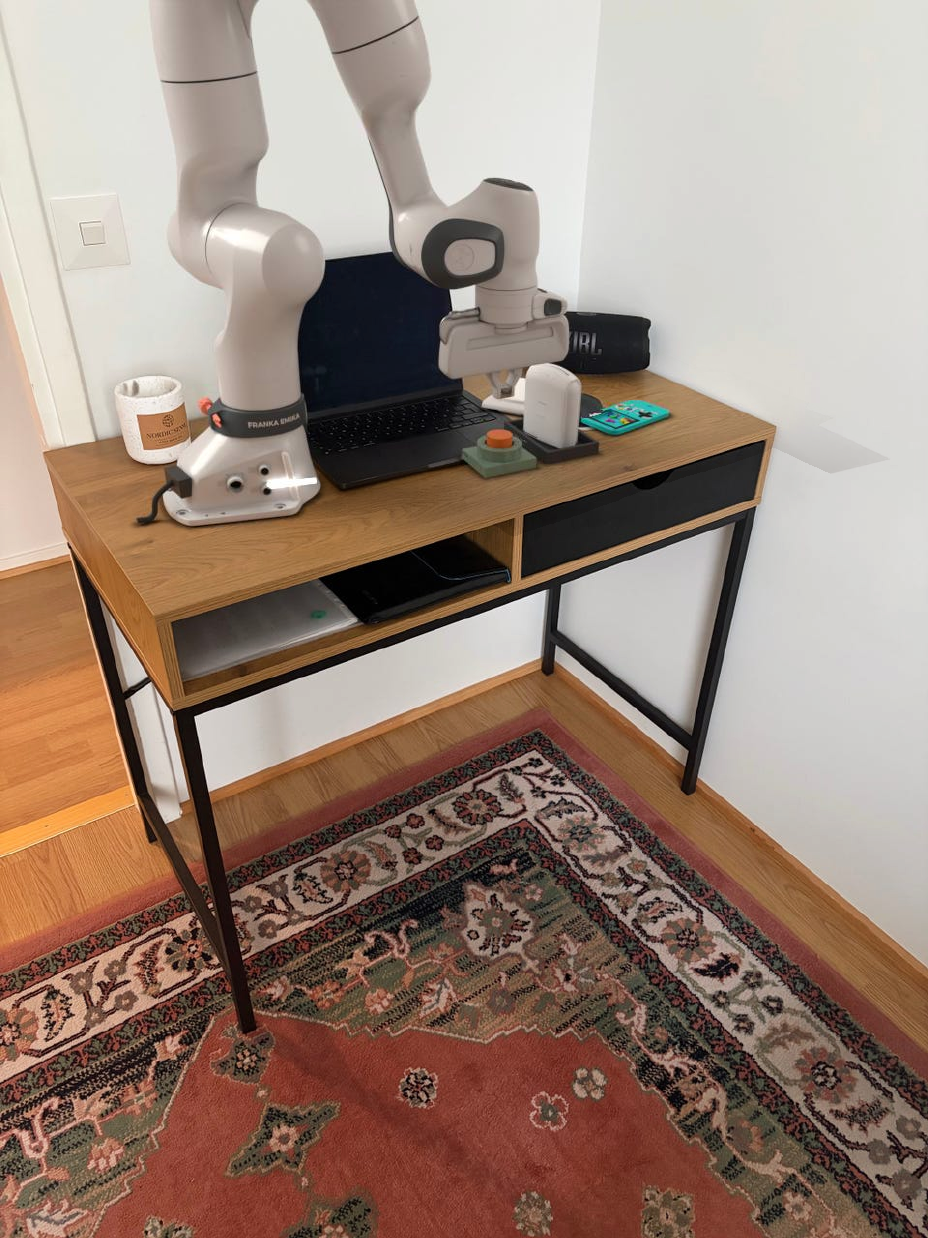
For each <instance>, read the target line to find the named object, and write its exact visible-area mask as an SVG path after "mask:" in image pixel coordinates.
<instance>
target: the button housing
mask: <svg viewBox="0 0 928 1238" xmlns="http://www.w3.org/2000/svg"><path fill="white" fill-rule="evenodd" d="M462 452H464V453H465V454H466V455H467V457H466V456H465V455H464V454H463V453H462ZM461 459H462V460H463V461H464V462H466V463H467V464H468V465H469V466H470V467H472V468H473V469H474V470H475V471H476V472H478V473H479V474H480V475H481V476H482V477H483V478H485V479H488V478H492V477H493V478H494V477H497V476H501V475H506V474H507V475H508V474H511V473H512V474H513V473H516V472H521V471H526V470H531V469H536V468H537V461H538V460H537V459H538V457H536V456H535V455H534V454H532V453H531V452H530V451H528V450H527V449H526V448H524V447H523V446H522V441H521V440H519V439H518V438H517V437H514V436H513V441H512V446H511V447H509V448H504V449H500V448H492V447H489V446H487V434H486V435H483V436H481V437H479V438H477V443H476V445H475V446H470V447H465V448H462V449H461Z"/></svg>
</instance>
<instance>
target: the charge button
mask: <svg viewBox="0 0 928 1238" xmlns="http://www.w3.org/2000/svg"><path fill="white" fill-rule="evenodd" d="M486 435H487V446H489V447H492V448H500V449H504V448H509V447H511V446H512V441H513V434H512V433H511V432H510V431H507V430H504V429H497V428H496V429H491V430H489V431H488V432H487V433H486Z"/></svg>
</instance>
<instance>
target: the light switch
mask: <svg viewBox="0 0 928 1238" xmlns="http://www.w3.org/2000/svg"><path fill="white" fill-rule="evenodd" d="M525 379H526V378H524V377H520V379H519V380H518V382H517V384H516V386H515V395H514V396H513V397H508V398H502V399H495V398H494V397H493V395H492V394H491V395H489V396H487V398H485V399H483V401H482V404H481V408H485V409H490V410H497V412H500V413H504V414H510V415H516V416H524V400H525Z"/></svg>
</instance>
